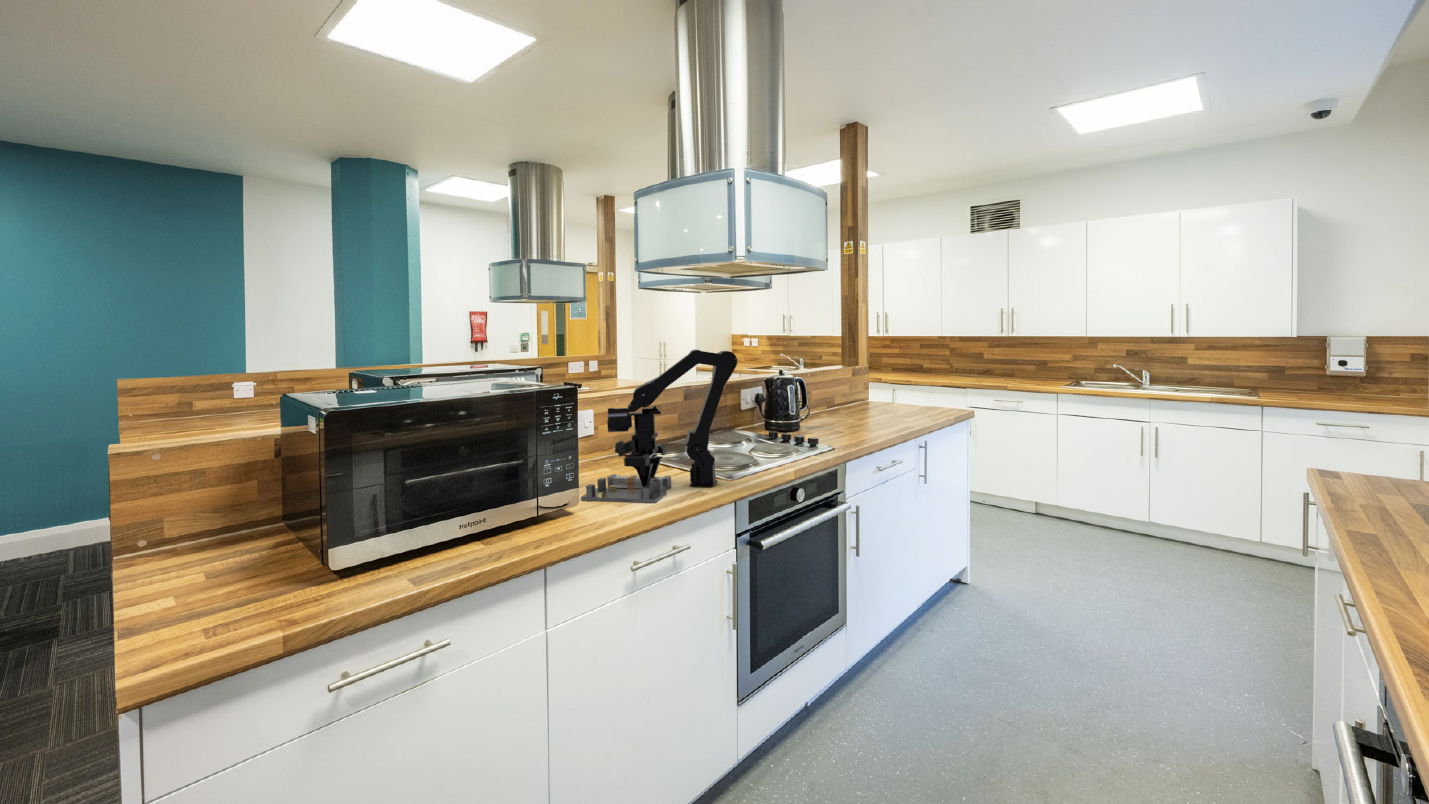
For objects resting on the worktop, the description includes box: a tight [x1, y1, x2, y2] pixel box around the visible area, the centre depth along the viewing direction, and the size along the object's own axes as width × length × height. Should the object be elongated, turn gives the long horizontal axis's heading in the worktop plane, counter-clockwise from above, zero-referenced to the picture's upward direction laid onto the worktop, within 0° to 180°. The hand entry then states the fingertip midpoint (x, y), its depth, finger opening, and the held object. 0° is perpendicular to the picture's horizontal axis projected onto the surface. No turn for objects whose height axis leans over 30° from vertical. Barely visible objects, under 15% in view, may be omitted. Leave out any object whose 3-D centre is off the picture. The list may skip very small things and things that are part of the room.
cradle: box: [580, 477, 667, 504], centre depth 161 cm, size 21×9×4 cm, turn 76°
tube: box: [606, 473, 672, 492], centre depth 171 cm, size 18×3×3 cm, turn 76°
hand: (647, 484), depth 170 cm, fingers open, 4 cm apart
